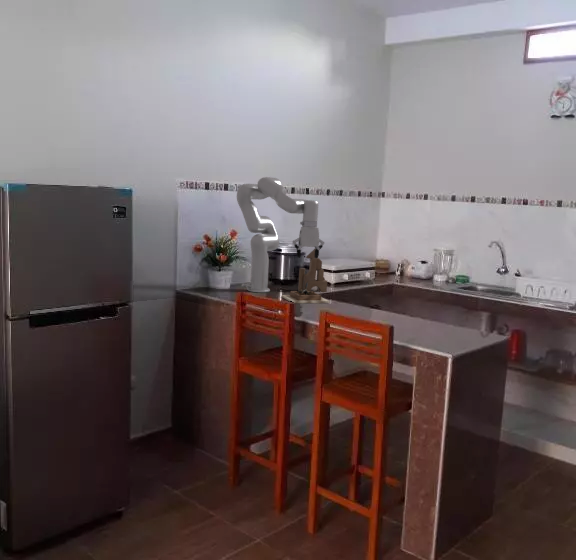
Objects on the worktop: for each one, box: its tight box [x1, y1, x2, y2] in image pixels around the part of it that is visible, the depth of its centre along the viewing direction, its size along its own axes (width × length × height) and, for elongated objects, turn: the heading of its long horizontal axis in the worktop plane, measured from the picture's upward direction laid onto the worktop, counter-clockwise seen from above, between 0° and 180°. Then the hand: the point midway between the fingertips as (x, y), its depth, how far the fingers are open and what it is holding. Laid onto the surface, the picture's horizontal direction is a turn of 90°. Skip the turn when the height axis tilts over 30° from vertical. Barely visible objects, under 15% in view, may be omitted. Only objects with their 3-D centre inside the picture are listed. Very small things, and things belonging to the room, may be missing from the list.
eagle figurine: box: [296, 281, 316, 295], centre depth 331 cm, size 8×7×9 cm
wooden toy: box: [297, 247, 328, 293], centre depth 360 cm, size 16×7×25 cm, turn 108°
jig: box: [281, 290, 330, 304], centre depth 331 cm, size 20×18×4 cm
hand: (307, 257), depth 328 cm, fingers open, 9 cm apart
